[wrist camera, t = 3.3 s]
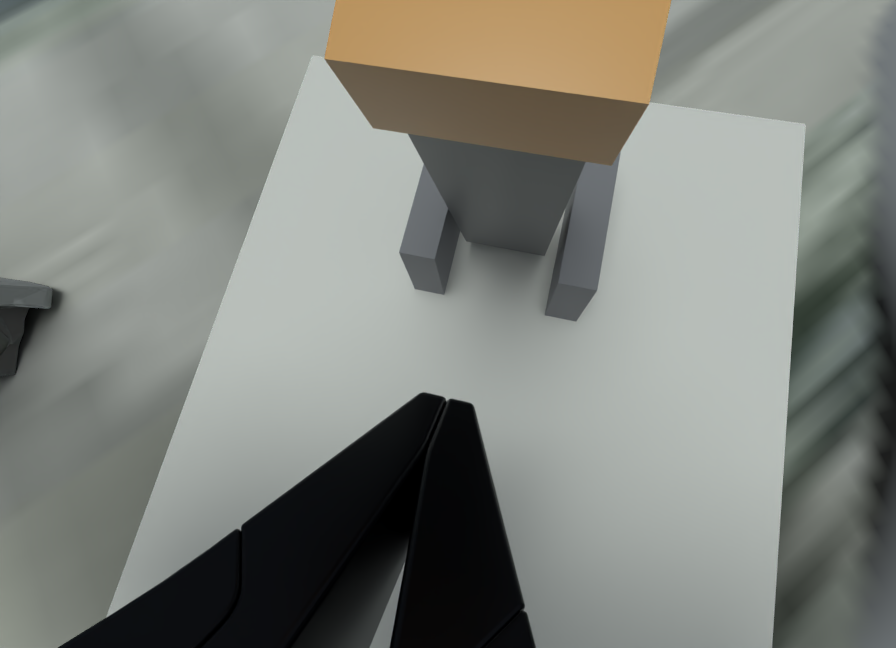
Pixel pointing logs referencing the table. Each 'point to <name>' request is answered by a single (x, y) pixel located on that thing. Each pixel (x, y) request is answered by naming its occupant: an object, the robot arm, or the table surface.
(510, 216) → the handle
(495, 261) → the thin white panel
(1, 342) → the electrical switch
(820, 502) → the table surface
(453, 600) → the robot arm
